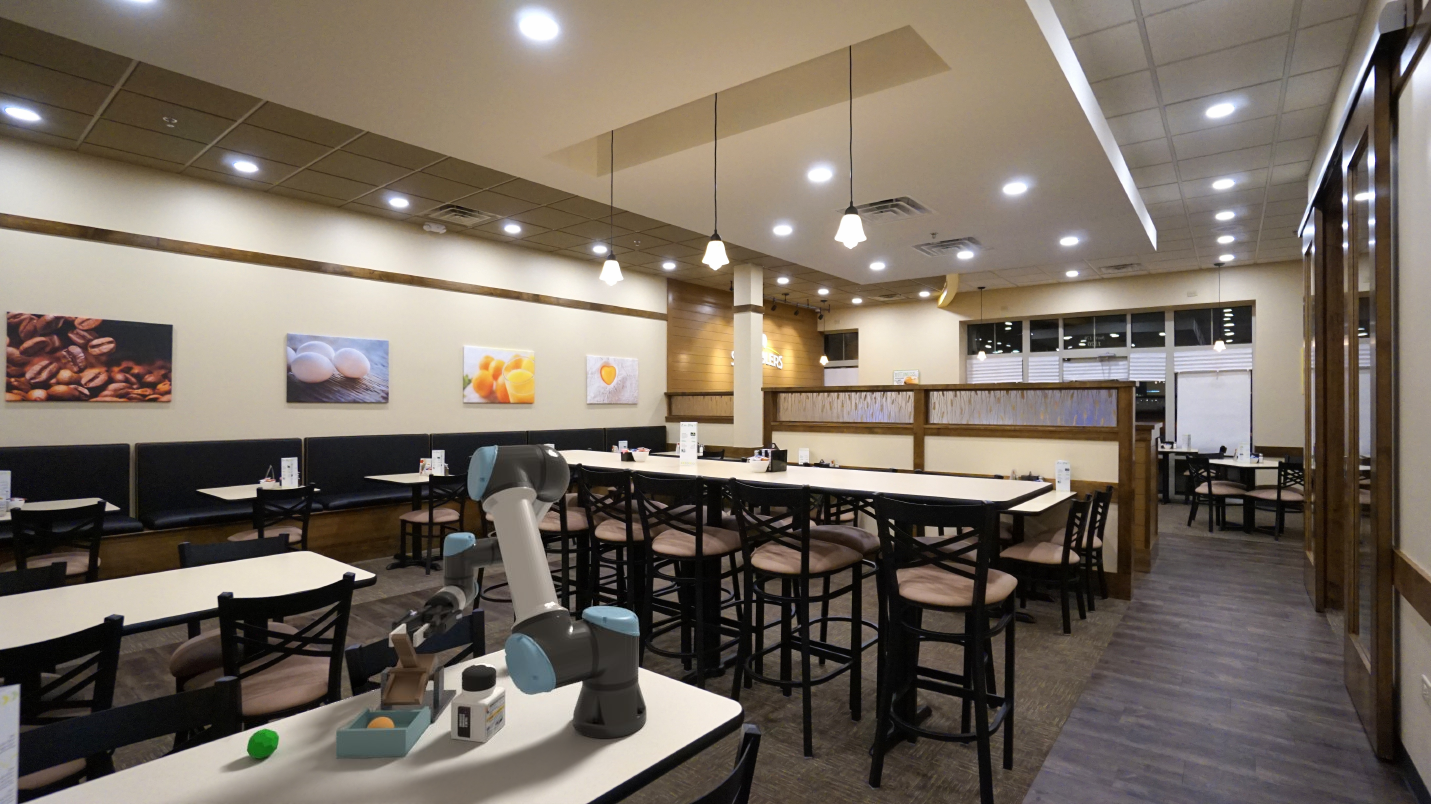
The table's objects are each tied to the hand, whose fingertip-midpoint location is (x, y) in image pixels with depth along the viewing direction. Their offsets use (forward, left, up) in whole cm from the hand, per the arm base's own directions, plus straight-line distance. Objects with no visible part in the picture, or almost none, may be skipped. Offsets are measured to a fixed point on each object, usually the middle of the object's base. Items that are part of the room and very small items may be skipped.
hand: (403, 640), depth 139 cm
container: (-14, -13, -16) cm, 25 cm away
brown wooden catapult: (+4, -3, -12) cm, 13 cm away
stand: (+3, -2, -16) cm, 16 cm away
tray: (-9, +4, -16) cm, 19 cm away
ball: (-12, +5, -13) cm, 18 cm away
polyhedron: (-5, +24, -16) cm, 29 cm away
